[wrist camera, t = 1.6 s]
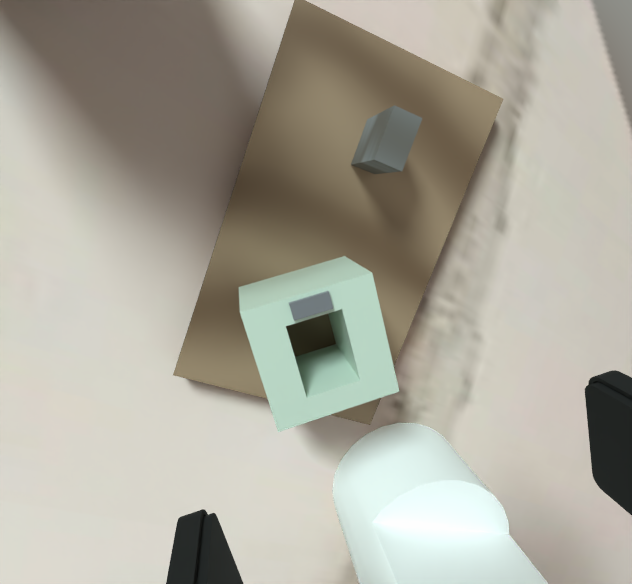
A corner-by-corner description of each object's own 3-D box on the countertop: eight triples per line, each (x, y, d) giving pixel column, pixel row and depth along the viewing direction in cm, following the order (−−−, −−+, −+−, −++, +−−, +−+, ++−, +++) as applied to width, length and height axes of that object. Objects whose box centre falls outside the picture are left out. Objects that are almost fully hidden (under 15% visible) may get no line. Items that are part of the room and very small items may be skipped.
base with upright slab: (317, 533, 30) (370, 750, 18) (352, 413, 28) (433, 568, 17) (435, 543, 32) (550, 743, 20) (474, 431, 30) (622, 580, 19)
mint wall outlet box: (368, 353, 26) (400, 393, 21) (269, 385, 25) (278, 434, 20) (344, 255, 24) (373, 273, 19) (238, 287, 23) (239, 313, 18)
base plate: (363, 412, 28) (392, 464, 23) (176, 364, 25) (161, 410, 20) (487, 104, 25) (555, 81, 20) (292, 8, 22) (310, -48, 17)
